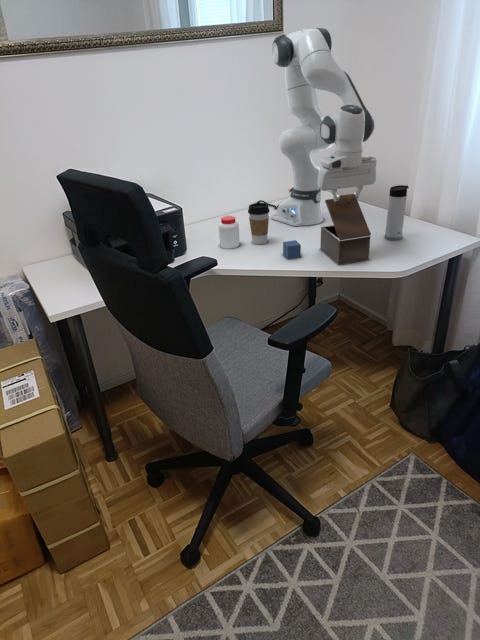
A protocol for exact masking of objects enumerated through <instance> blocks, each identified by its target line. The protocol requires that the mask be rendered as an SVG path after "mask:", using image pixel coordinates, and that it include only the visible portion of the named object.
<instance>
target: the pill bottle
mask: <svg viewBox="0 0 480 640" xmlns="http://www.w3.org/2000/svg"><path fill="white" fill-rule="evenodd" d="M218 233H219V234H218V236H219V246H220V248H222V249H227V250H228V249H229V250H230V249H236V248H238V247H239V246H240V245H241V243H240V226H239V222H238V221H236V216H234V215H225V216H224V215H223V216H222V217H221V218H220V223H219V224H218Z"/></svg>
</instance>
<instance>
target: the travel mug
mask: <svg viewBox="0 0 480 640" xmlns="http://www.w3.org/2000/svg"><path fill="white" fill-rule="evenodd" d="M408 189H409V185H404V184H399V185H393V186H391V187H390V188H389V194H388V204H387V211H386V212H387V213H386V223H385V224H386V225H385V231H384V232H385V234H384V238H385V239H387V240H390V241H399V240H401V239H402V237H403V229H404V222H405V221H404V220H405V213H406V204H407V196H408V194H407V193H408Z"/></svg>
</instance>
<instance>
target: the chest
mask: <svg viewBox="0 0 480 640" xmlns="http://www.w3.org/2000/svg"><path fill="white" fill-rule="evenodd" d="M370 247H371V235H370V236H365V237H358V238H352V239H346V240H339V238H338V235H337V232H336V230H335V227H334V224H332V225H325V226H321V227H320V250H321V251H322V252H323V253H324V254H325V255H326V256H327V257H329V258H330V259H331V260H332V261H333V262H335V264H336V265H338V266H340V265H345V264H351V263H357V262H364V261H369V258H370Z"/></svg>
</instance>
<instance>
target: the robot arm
mask: <svg viewBox="0 0 480 640" xmlns="http://www.w3.org/2000/svg"><path fill="white" fill-rule="evenodd" d="M332 43H333V42H332V36H331V33H330V32H329V30H328V29H327V28H325V27H316V28H307V29H300V30H297V31H293V32H290V33H287V34H281V35H278V36H276V37H275V38H274V40H273V42H272V47H271V55H272V58H273V61H274V64H275V65H277V66H278V67H280V68H284V79H285V81H284V82H285V91H286V98H287V104H288V110H289V112H290V114H291V115H292V116H295V117H296V118H297V119H298V120H299V122H300V124H301V126H299V125H298V126H294V127H290V128H289V129H287V130H284V131H283V132H281V134H280V136H279V139H278V147H279V150H280V152H281V153H282V155H284V156H285V157H286V158H287V159H288V160H289V163H290V164H291V166H292V171H293V187H291V188H289V190H288V193H290V195H289V196H288V197H286V198H285V199H284V200H282V201H281V202H279V204H277V205H276V204H271V203H269V202H266V201H265V200H261V199H260V200H258V201H256V203H266V204H268V207H269V206H270V207H273V208H274V209H275V210H277V211H276V212H275V213H274V214H273V215H272V217H271V219H272V220H274V221H275V222H276V221H277V222H280V223H283V224H287V225H288V226H289V225H290V226H293V227H301V226H313V225H317V224H320V223H322V222H323V221H324V218H323V213H322V205H321V200H322V192H327V191H330V192H331V194H332V196H333V197H332V199H333V201H334V202H337V201H339V196H338V194H337V193H338V190H340V189H349V188H356V190H355V192H353V193H354V195H355V197H354V199H357V200H358V199H360V194H361V192H362V191H363V189H364V188H363V187H364V186H369V185H370V186H371V185H374V184H375V183H376V181H377V168H376V167H377V159H376V157H374V156H373V155H369V156H363V153H364V147H363V143H365V142H367V141H368V140H369V139H370V138H371V137H372V135H373V133H374V131H375V126H376V125H375V120H374V118H373V115H372V114H371V112H370V111H369V109H367V107H366V106H365V104H364V102H363V100H362V98H361V96H360V94H359V93H358V90H357V88H356V86H355V84H354V83H353V80H352V79H351V77H350V75H349V74H348V73H347V72H346V71H345V70H344V69H342V68H341V67H340V66H339V65H338V64H337V62H336V61H335V59H334V57H333V55H332V46H333V44H332ZM316 90H319V91H326V92H329V93H331V94H334V95H336V96H338V97H339V98H340V99H341V100H342V103H343V104H344V105H342V106H340V107H339V109H338V111H336V112H334V113H330V114H328V115H325V116H323V114H322V113H321V112H322V111H321V110H320V108H319V104H318V99H317V93H316V92H317V91H316ZM334 145H335V152H333V153H331V154H330V155H327V156H325V157H322V158H321V160H320V165H322V166H321V167H319V165H318V164H316V163H315V162H313V160H312V154H315V153H320V152H325V151H326V150H328V149H329V148H332V147H333V146H334ZM259 201H260V202H259Z"/></svg>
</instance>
